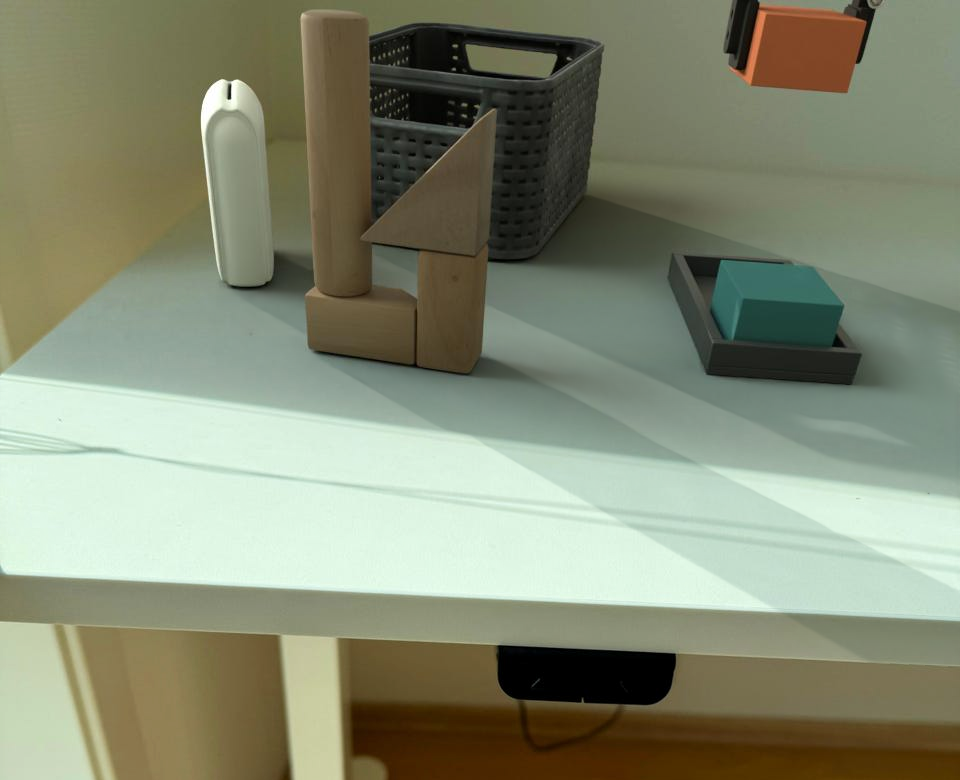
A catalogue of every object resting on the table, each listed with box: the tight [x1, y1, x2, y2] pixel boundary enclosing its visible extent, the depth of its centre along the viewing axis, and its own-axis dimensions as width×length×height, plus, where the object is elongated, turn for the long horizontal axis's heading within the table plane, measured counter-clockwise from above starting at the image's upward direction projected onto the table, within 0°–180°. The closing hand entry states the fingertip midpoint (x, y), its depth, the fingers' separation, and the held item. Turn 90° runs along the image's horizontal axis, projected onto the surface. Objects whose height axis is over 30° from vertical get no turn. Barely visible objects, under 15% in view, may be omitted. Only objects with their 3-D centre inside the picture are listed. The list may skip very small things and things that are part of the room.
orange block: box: [729, 3, 867, 94], centre depth 63 cm, size 6×8×4 cm
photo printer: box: [200, 78, 275, 287], centre depth 67 cm, size 10×4×12 cm, turn 11°
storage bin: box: [369, 21, 606, 261], centre depth 83 cm, size 29×19×13 cm
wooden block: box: [300, 8, 497, 375], centre depth 54 cm, size 4×11×18 cm, turn 77°
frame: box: [666, 251, 863, 385], centre depth 67 cm, size 20×10×2 cm, turn 178°
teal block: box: [710, 260, 845, 347], centre depth 62 cm, size 6×8×4 cm
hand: (788, 69), depth 64 cm, fingers closed on orange block, 6 cm apart
